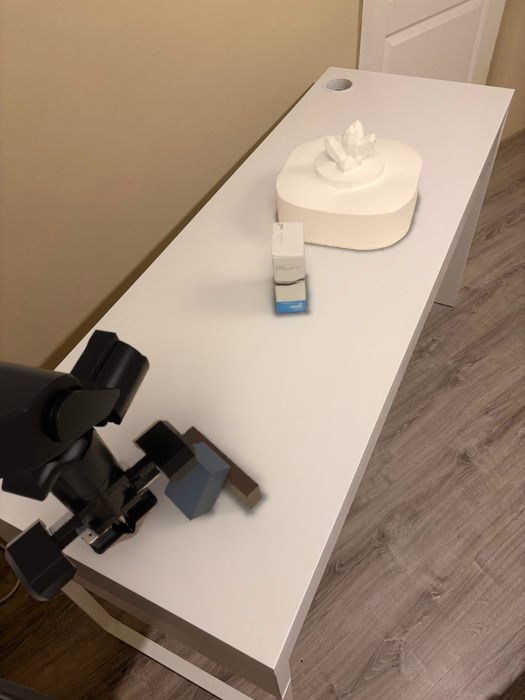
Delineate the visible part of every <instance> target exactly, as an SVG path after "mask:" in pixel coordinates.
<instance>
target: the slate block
mask: <svg viewBox="0 0 525 700" xmlns="http://www.w3.org/2000/svg"><path fill="white" fill-rule="evenodd" d="M193 446H194V447H195V449H196V451H197V453H198V455H199V462H198V464H197V465H196V466H195V467H194V468H193V469H192V470H191V471H190V472H189V473H187V474H186V475H185V476H184V477H183V478H182V479H181V480H180V481H177V482H174V483H171V482H170V481H169V480H168V482H167V485H166V487H165V489H164V492H163V493H164V495H165V496H166V497H167V498H168V499H169V500H170V501H171V502H172V503H173V504H174V506H176V508H178V510H179V511H180V512H181V513H182V514H183V515H184V516H185V517H186V518H187V519H188V520H189V521H192V520H194V519H197V518H199V517H202V516H203V515H206V514H208V513H210V512H211V510H212V508H213V506H214V503H215V502H216V499H217V497H218V495H219V493H220V492H221V489H222V486H224V484H223V483H224V480H225V478H226V476H227V474H228V472H229V470H230V468H231V466H230V465H228V464H227V463H226V462H225V461H224V460H223V459H222V458H221V457H220V456H219V455H217V454H216V453H215V452H214V451H213V450H212V449H211V448H210V447H209V446H208V445H207V444H205V443H204V442H201V443H197V444H193Z"/></svg>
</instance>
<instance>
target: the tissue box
mask: <svg viewBox="0 0 525 700" xmlns="http://www.w3.org/2000/svg"><path fill="white" fill-rule="evenodd" d="M423 164H424V163H423V158H422V156H421V154H420V153H419V152H418V151H417V150H416V149H415V148H413V147H412V146H410V145H408V144H406V143H404V142H402V141H399V140H396V139H393V138H392V139H391V138H383V137H382V138H381V137H379V138H378V137H376V135H375V133H374V132H371V133H368V134H366V135H365V129H364V125H363V124H362V122H361V121H360V120H359V118H357V119H356V120H354V121H353V122H352V123H350V124H349V126H347V127H345V128H344V130H343V133H342V134H328V135H321V136H318V137H315V138H312V139H308V140H307V141H303V142H301V143H299V144H298V145H297V146H296V147H294V149H292V151H291V152H290V154H289V156H288V158H287V160H286V162H285V164H284V165H283V167H282V168H281V171H280V172H279V173H278V175H277V177H276V180H275V196H276V208H277V220H278V222H303V229H304V243H309V244H315V245H321V246H328V247H334V248H335V247H336V248H342V249H349V250H356V251H370V250H379V249H383V248H387V247H390V246H392V245H394V244H396V243H397V242H399V241H400V240H401V239H403V238H404V236H405V235H406V234H407V233H408V232H409V229H410V227H411V223H412V219H413V215H414V212H415V207H416V205H417V199H418V193H419V188H420V181H421V175H422V170H423Z"/></svg>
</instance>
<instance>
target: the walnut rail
mask: <svg viewBox="0 0 525 700" xmlns="http://www.w3.org/2000/svg"><path fill="white" fill-rule="evenodd" d="M182 435H183V436H184V437H185V438H186V439H187V440H188V441H189V442H191V444H192V445H193V444H197V443H201V442H204V443H205V444H207V445H208V446H209V447H210V448H211V449H212V450H213V451H214V452H215V453H216V454H217V455H219V456H220V457H221V458H222V459H223V460H224V461H225V462H226V463H227V464H228V465H230V466H231V468H230V470H229V472H228V474H227V476H226V478H225V480H224V483H223V486H225V488H227V490H229V491H230V492H231V493H232V494H233V495H234V496H235V497H236V498H237V499H238V500H239V501H241V503H242V504H243V505H244V506H246V507H247V508H248V510H250V511H251V510H252V509H253V508H254V507H255V506H256V505H257V504H258V503H259V502H260V501H261V500H262V493H261V489H260V485H259V483H257V482H256V481H255V480H254V478H252V477H251V476H250V475H248V474H247V473H246V472H245V471H244V470H243V469H242V468H241V467H240V466H238V465H237V463H235V461H233V460H232V459H231V458H230V457H228V456H227V454H225V453H224V452H223V451H222V450H221V449H219V447H217V446H216V445H215V444H214V442H212V441H211V440H210V439H208V437H206V436H205V435H204V434H203V433H202V432H201V431H200V430H199V429H197V427H195V426H194V425H192V426H190V428H188V429H187V430H186V431H185V432H184V433H183V434H182Z"/></svg>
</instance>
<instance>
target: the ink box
mask: <svg viewBox="0 0 525 700" xmlns="http://www.w3.org/2000/svg"><path fill="white" fill-rule="evenodd" d="M270 250H271V251H270V255H271V263H272V264H271V265H272V273H273V283H274V294H275V303H276V313H277V314H291V313H303V312H304V313H305V312H307V285H306V284H307V283H306V282H307V280H306V279H307V278H306V248H305V242H304V229H303V222H279V221H278V222H273V223H272V229H271V247H270Z"/></svg>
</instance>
